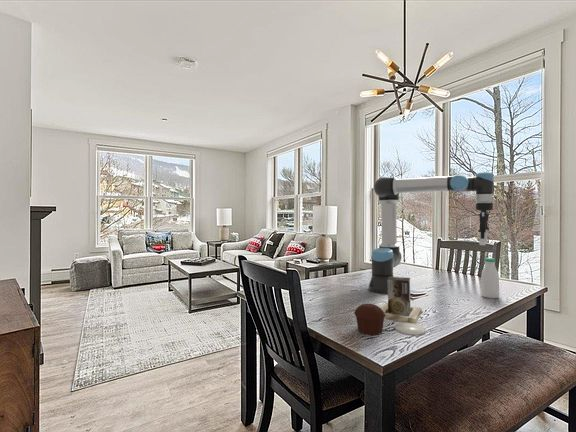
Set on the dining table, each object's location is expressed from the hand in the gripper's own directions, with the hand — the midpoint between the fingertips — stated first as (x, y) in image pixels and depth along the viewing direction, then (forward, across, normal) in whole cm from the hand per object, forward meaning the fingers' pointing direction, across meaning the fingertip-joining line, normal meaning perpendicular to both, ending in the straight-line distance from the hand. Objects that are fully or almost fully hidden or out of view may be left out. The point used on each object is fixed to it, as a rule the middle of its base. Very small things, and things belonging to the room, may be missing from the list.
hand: (483, 243), depth 162 cm
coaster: (+27, -66, +20) cm, 74 cm away
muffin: (+27, -76, +32) cm, 87 cm away
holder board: (+27, -52, +28) cm, 65 cm away
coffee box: (+28, -52, +28) cm, 65 cm away
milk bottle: (+28, +1, -3) cm, 28 cm away
